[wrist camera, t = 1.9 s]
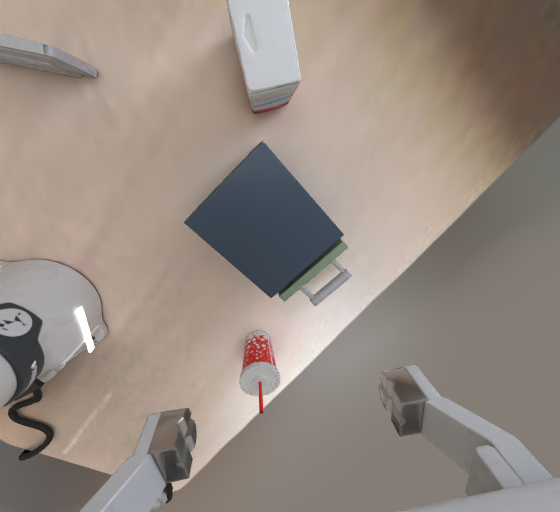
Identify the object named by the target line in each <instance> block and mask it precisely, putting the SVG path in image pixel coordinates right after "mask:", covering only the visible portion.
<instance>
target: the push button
mask: <svg viewBox="0 0 560 512" xmlns="http://www.w3.org/2000/svg"><path fill="white" fill-rule="evenodd" d="M172 490H173V487H172V484H171V483H166V487H165V488H164V490H163V491H162V493H161V494H160V496H159V498H158V499H157V501H156V502H155V504H154V505H153V507H152V509H151V510H157V509H161V508H163V507H164V505H165V504H166V503H168V502H169V501H170V500H171V499H172Z"/></svg>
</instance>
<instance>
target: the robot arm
mask: <svg viewBox="0 0 560 512" xmlns="http://www.w3.org/2000/svg"><path fill="white" fill-rule="evenodd" d="M107 335H108V329H107V327H106V325H105V323H104V321H103V319H102V305H101V301H100V298H99V295H98V293H97V291H96V290H95V288H94V287H93V286H92V284H91V283H90V282H89V281H88V280H87V279H86V278H85V277H84V276H82V275H81V274H80V273H78V272H77V271H75V270H73V269H72V268H70V267H68V266H65V265H63V264H60V263H57V262H53V261H49V260H41V259H30V260H24V261H18V262H7V261H1V260H0V409H1V408H2V407H4V406H6V405H8V404H10V403H11V402H13V401H14V400H15V401H16V400H18V399H20V398H22V397H24V396H26V395H28V394H30V393H32V392H33V394H34V397H32V398H30V399H28V400H25V401H22V402H19V403H17V404H15V405H13V406H12V407H11V408H10V409H9V412H8V415H9V417H10V419H11V420H12V421H14V422H16V423H18V424H21V425H24V426H28V427H31V428H35V429H38V430H40V431H42V432H44V433H45V434H46V440H45V441H44V443H43V444H41V445H40V446H39V447H37V448H36V449H34V450H32V451H31V450H27V449H25V450H24V451H23V452H22V453H21V455H20V456H19V460H26V459H28V458H31V457H32V456H34V455H36V454H38V453H39V452H41V451H42V450H43V449H45V448H46V447H47V446H48V445H49V444H50V442H51V441H52V438H53V431H52V429H51V428H50V427H48V426H47V425H44V424H42V423H39V422H36V421H32V420H29V419H26V418H23V417H21V416H19V415H18V414H17V412H16V410H17V409H19V408H22V407H25V406H28V405H31V404H33V403H37V402H39V401H40V400H41V398H42V392H41V389H40V388H41V387H42V386H43V385H44V384H45V383H46V382H48V381H49V380H51V379H52V378H53V377H54V376H55V375H56V374H57V373H58V372H59V371H60V370H61V369H62V368H63V367H64V366H65V365H66V362H68V361H69V360H71V359H73V358H74V357H76V356H77V355H79V354H81V353H82V352H84V351H85V350H87V349H88V351H89V352H92V350H93V349H94V345H95V344H97V343H98V342H100V341H101V340H103V339H104V338H105V337H106V336H107ZM93 336H94V337H93ZM379 377H380V380H381V382H382V383H381V384H380V385H379V392H380V397H381V400H382V403H383V405H384V407H385V409H386V410H387V411H388V412H390V413H391V414H392V416H391V421H392V423H393V424H394V426H395V428H396V430H397V432H398V434H399V436H400V437H401V436H407V435H413V434H419V433H421V435H422V436H423V437H425V438H426V439H427V440H428V441H429V442H431V443H432V444H433V445H435V446H436V447H437V448H438V449H440V451H442V452H443V453H444V454H445V455H446V456H448V457H449V458H450V459H451V460H452V461H454V462H455V463H456V464H457V465H458V466H460V467H461V468H462V469H463V470H464V471H466V472H467V473H468V474H469V479H468V482H467V486H466V491H465V492H466V494H467V496H468V497H463V498H458V499H453V500H449V501H444V502H439V503H435V504H429V505H425V506H420V507H415V508H411V509H405V510H401V511H396V512H560V477H558V478H553V477H552V476H551V475H550V474H549V473H548V472H547V471H546V470H545V468H544V467H543V466H542V465H541V464H540V463H539V462H538V461H537V460H536V459H535V458H534V456H533V455H532V454H531V453H530V452H529V451H528V450H527V449H526V448H525V447H524V445H523V444H522V443H521V442H520V441H519V440H518V439H517V438H516V437H514V436H512V435H510V434H509V433H507V432H505V431H503V430H502V429H500V428H498V427H496V426H495V425H493V424H491V423H489V422H487V421H486V420H484V419H482V418H481V417H479V416H477V415H475V414H474V413H472V412H470V411H468V410H467V409H465V408H463V407H461V406H459V405H458V404H456V403H454V402H452V401H451V400H449V399H447V398H441V396H440V395H439V394H438V393H437V391H436V390H435V389H434V387H433V386H432V385H431V383H430V382H429V381H428V380H427V378H426V377H425V376H424V374H423V373H422V372H421V371H420V369H419V368H418V367H417V366H414V365H413V366H408V367H403V368H402V367H401V368H396V369H391V370H386V371H381V372H380V375H379ZM190 416H191V412H190V409H189V408H183V409H177V410H171V411H164V412H159V413H153V414H150V415H149V417H148V418H147V420H146V423H145V425H144V428H143V430H142V433H141V435H140V438H139V441H138V443H137V446H136V448H135V451H134V453H133V456H132V457H131V458H128V459H127V460H126V461H125V462H124V463H123V464H122V465H121V466H120V468H119V469H118V470H117V471H116V472H115V473H114V474H113V475H112V476H111V477H110V479H109V480H108V481H107V482H106V483H105V484H104V485H103V486H102V487H101V488H100V489H99V491H98V492H97V493H96V494H95V495H94V496H93V497H92V498H91V499H90V500H89V501H88V503H87V504H86V505H85V506H84V507H83V508H82V509H81V510H80V511H79V512H150V510H151V509H152V507H153V505H154V504H155V502H156V501H157V499H158V498H159V496H160V494H161V493H162V491H163V490H164V488H165V487H166V483H170V482H174V481H179V480H183V479H187V478H189V475H190V470H191V464H192V456H191V454H190V452H191V451H192V450H193V448H194V447H195V443H196V425H195V422H194V420H192V419H191V418H190Z"/></svg>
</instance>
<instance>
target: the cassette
mask: <svg viewBox="0 0 560 512" xmlns="http://www.w3.org/2000/svg"><path fill="white" fill-rule="evenodd" d="M0 62H1V63H6V64H11V65H16V66H22V67H27V68H32V69H37V70H42V71H47V72H52V73H57V74H62V75H67V76H72V77H77V78H81V77H82V75H85V76H90V77H95V78H97V69H96V68H94V67H92V66H90V65H88V64H86V63H84V62H82V61H80V60H79V59H77V58H75V57H73V56H71V55H69V54H67V53H65V52H63V51H61V50H60V49H58V48H56V47H54V46H52V45H49V44H44V43H39V42H34V41H29V40H25V39H20V38H15V37H10V36H6V35H1V34H0Z"/></svg>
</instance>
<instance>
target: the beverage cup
mask: <svg viewBox="0 0 560 512" xmlns="http://www.w3.org/2000/svg"><path fill="white" fill-rule="evenodd" d="M239 383H240V387H241V389H242V390H243V391H244V392H245V393H247V394H250V395H252V396H259V409H260V414H262V413H263V399H262V396H263V395H268V394H269V393H271V392H273V391H274V390H275V389H276V388H277V387H278V386H279V383H280V376H279V371H278V369H277V368H276V364H275V359H274V354H273V349H272V344H271V339H270V336H269V335H268V333H266V332H264V331H259V330H258V331H253V332H252V333H250V334H249V335H248V336H247V337H246V341H245V349H244V358H243V367H242V372H241V375H240V380H239Z"/></svg>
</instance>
